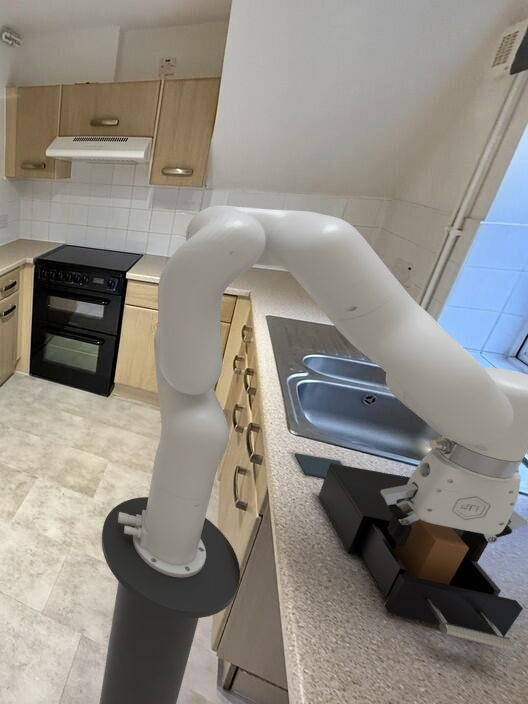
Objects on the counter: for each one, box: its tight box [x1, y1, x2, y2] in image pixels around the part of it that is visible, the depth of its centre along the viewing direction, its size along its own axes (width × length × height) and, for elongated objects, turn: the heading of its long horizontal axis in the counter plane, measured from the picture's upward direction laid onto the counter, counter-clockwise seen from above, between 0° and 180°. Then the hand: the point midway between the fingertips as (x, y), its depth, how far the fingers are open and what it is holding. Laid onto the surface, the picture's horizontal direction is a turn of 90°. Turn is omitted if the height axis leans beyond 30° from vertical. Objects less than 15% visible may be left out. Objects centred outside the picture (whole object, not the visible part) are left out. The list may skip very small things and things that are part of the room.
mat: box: [294, 452, 343, 479], centre depth 92 cm, size 9×7×1 cm
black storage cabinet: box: [317, 463, 464, 557], centre depth 75 cm, size 14×15×9 cm
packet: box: [394, 511, 469, 585], centre depth 64 cm, size 4×6×10 cm, turn 164°
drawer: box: [357, 520, 524, 652], centre depth 62 cm, size 17×13×7 cm
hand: (430, 545), depth 64 cm, fingers open, 8 cm apart
